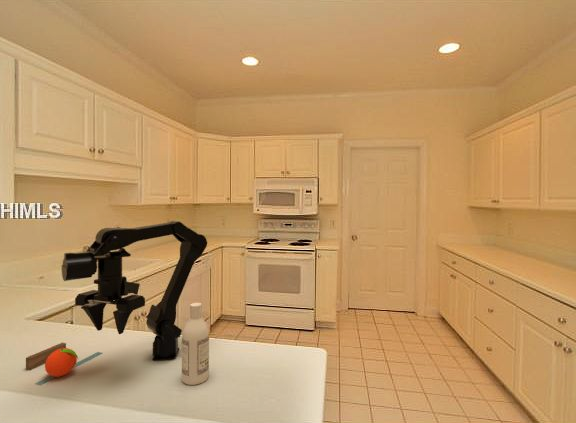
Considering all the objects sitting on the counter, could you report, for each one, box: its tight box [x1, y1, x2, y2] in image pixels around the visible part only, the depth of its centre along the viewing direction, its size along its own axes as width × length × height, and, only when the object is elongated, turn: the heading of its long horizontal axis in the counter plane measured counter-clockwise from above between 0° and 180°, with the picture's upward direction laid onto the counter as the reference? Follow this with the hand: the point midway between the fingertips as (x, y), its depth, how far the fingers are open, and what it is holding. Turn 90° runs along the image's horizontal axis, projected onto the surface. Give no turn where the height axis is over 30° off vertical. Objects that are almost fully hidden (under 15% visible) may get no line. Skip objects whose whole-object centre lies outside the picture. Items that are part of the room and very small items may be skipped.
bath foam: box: [181, 302, 210, 386], centre depth 80 cm, size 7×7×20 cm
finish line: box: [34, 351, 103, 386], centre depth 85 cm, size 2×18×1 cm, turn 163°
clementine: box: [44, 347, 79, 378], centre depth 81 cm, size 8×7×7 cm
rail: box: [25, 342, 67, 371], centre depth 88 cm, size 2×10×4 cm, turn 163°
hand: (110, 331), depth 81 cm, fingers open, 7 cm apart
